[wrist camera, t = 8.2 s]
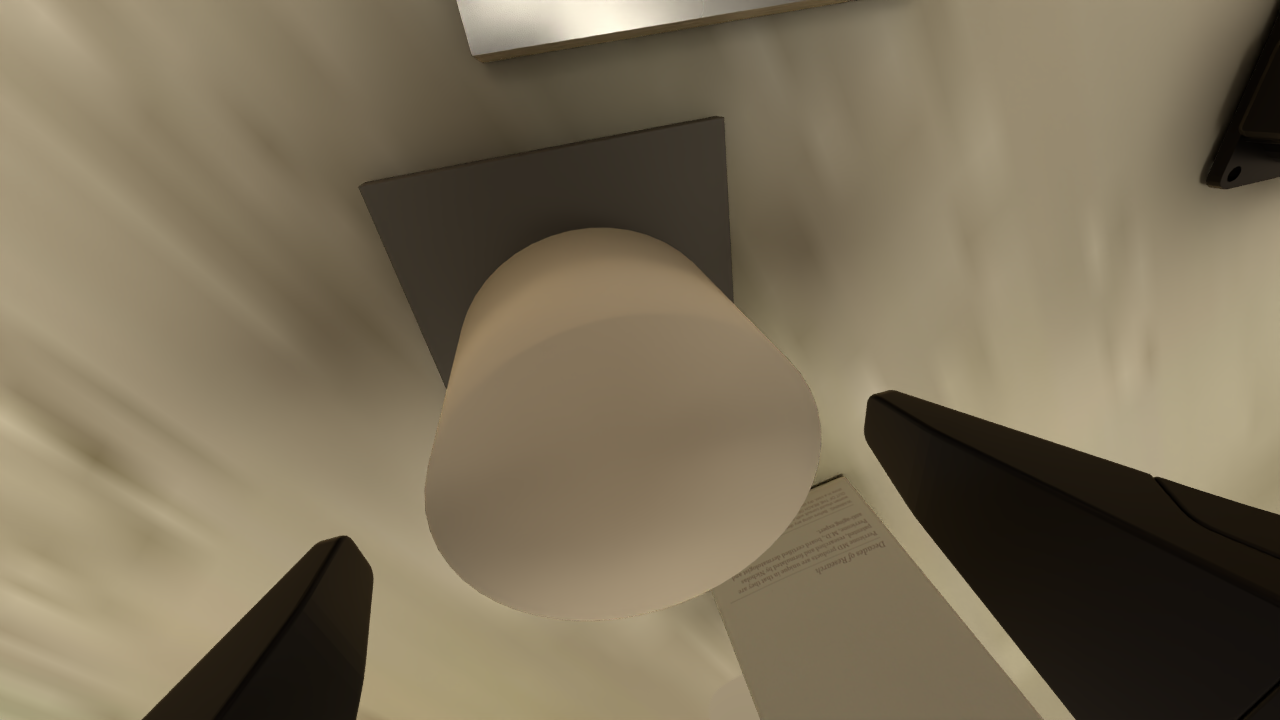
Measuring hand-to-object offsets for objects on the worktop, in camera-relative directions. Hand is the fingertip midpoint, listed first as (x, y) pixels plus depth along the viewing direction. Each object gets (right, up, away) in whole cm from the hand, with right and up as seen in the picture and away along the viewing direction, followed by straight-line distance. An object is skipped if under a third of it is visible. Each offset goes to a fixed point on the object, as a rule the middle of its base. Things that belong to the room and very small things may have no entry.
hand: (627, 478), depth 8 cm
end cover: (-1, +3, +6) cm, 7 cm away
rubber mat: (-1, +4, +6) cm, 7 cm away
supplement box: (+7, -7, +15) cm, 18 cm away
